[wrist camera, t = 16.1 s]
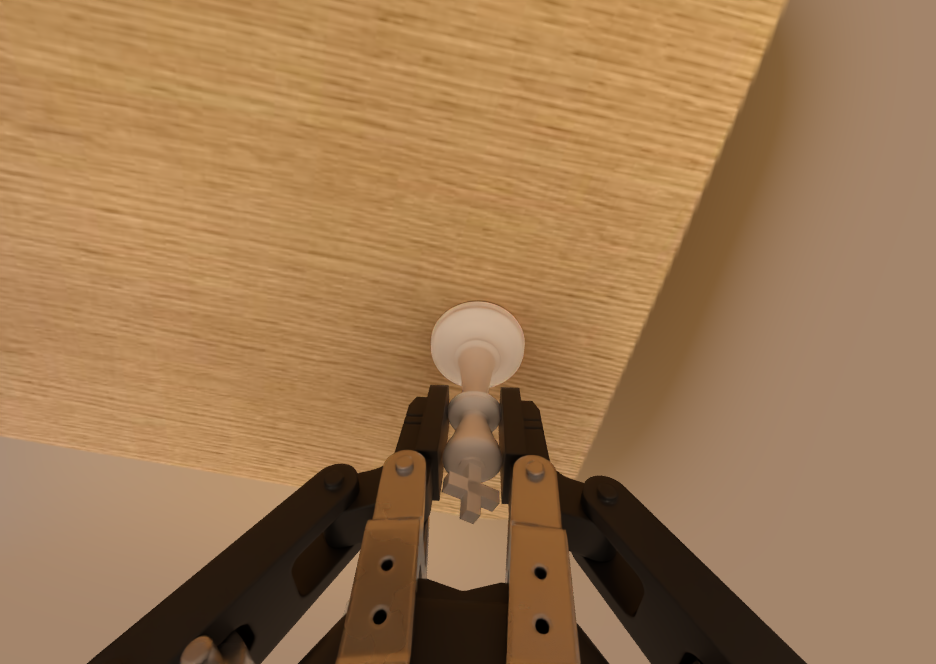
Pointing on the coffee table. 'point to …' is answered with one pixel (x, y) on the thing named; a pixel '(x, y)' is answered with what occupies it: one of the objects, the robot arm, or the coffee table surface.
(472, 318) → the chess piece
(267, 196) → the coffee table surface
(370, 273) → the coffee table surface
